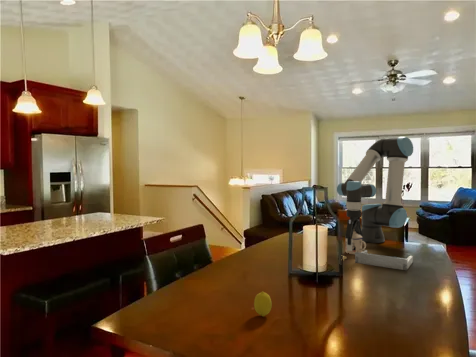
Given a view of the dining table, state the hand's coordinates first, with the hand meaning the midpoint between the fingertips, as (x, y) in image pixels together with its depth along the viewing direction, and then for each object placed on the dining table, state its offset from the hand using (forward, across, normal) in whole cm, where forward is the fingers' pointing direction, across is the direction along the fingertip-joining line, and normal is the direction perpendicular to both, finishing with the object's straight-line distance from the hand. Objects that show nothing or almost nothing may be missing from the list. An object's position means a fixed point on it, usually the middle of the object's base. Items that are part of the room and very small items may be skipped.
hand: (353, 248), depth 187 cm
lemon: (+3, +96, +1) cm, 96 cm away
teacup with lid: (+3, 0, +1) cm, 3 cm away
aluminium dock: (+2, +11, +18) cm, 21 cm away
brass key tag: (+2, +15, -1) cm, 15 cm away
